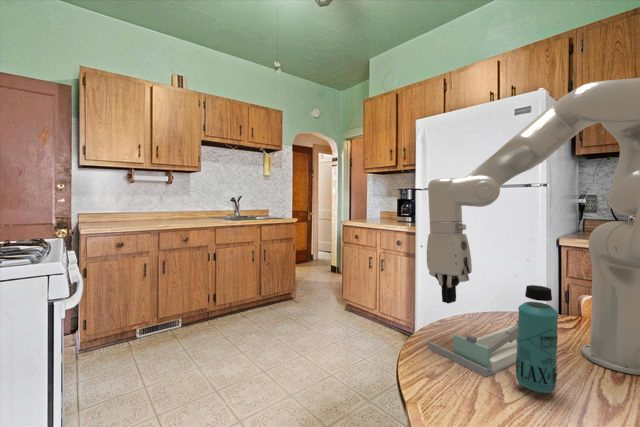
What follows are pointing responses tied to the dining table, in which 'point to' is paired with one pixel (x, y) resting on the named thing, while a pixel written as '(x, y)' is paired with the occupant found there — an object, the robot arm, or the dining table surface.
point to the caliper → (504, 339)
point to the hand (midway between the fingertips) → (449, 301)
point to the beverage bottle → (537, 341)
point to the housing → (497, 359)
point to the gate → (472, 350)
